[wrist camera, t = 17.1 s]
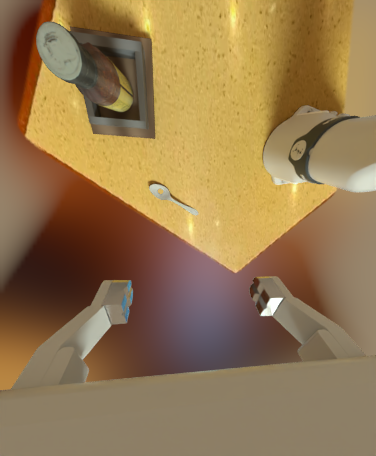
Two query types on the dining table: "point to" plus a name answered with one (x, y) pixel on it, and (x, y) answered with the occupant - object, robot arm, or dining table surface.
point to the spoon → (168, 197)
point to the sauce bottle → (83, 67)
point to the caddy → (138, 78)
